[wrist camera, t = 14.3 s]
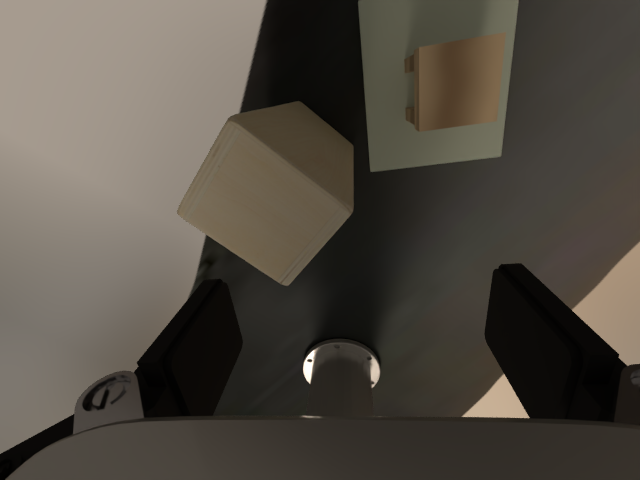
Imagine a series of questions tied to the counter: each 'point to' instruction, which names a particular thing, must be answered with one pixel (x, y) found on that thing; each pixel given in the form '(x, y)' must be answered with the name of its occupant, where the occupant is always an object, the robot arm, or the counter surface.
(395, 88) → the sage mat
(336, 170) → the beige block
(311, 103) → the counter surface
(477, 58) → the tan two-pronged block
